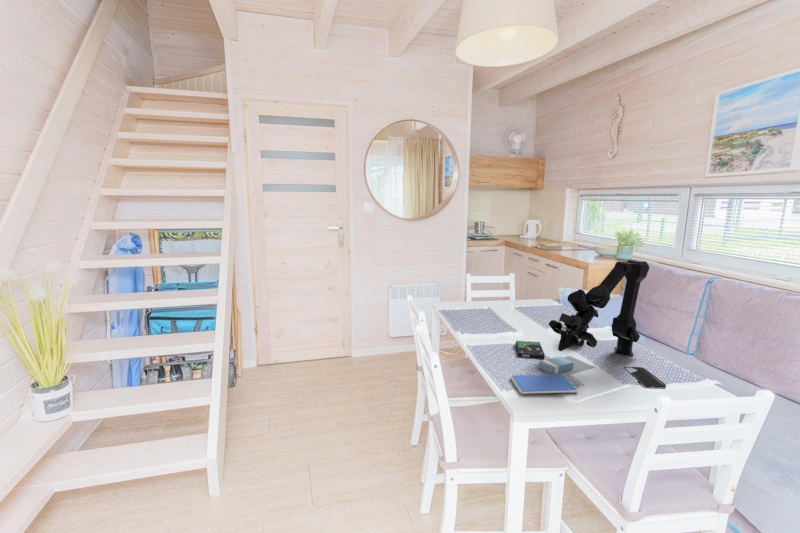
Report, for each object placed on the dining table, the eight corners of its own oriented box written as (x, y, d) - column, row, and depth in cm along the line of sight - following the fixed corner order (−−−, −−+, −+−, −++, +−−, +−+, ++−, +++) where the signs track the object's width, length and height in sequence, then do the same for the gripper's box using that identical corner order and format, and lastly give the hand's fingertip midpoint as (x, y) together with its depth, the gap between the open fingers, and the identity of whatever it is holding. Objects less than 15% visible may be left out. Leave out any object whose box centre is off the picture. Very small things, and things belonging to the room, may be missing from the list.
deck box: (560, 356, 154) (539, 361, 149) (573, 362, 148) (552, 367, 143) (559, 362, 154) (538, 367, 149) (572, 368, 149) (551, 374, 144)
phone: (642, 367, 150) (667, 385, 136) (642, 369, 151) (667, 388, 136) (622, 366, 151) (644, 385, 136) (621, 369, 151) (643, 388, 136)
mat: (569, 357, 161) (569, 355, 161) (595, 368, 150) (595, 367, 150) (533, 366, 152) (533, 364, 152) (557, 379, 141) (557, 377, 141)
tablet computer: (562, 376, 142) (563, 373, 142) (579, 393, 130) (579, 390, 129) (509, 378, 142) (509, 375, 141) (521, 396, 129) (521, 392, 129)
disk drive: (544, 361, 158) (539, 347, 172) (545, 355, 157) (539, 341, 171) (518, 359, 160) (514, 345, 174) (518, 353, 159) (515, 339, 173)
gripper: (553, 300, 156) (530, 330, 153) (594, 312, 139) (570, 347, 137) (566, 316, 161) (544, 346, 158) (607, 330, 144) (583, 364, 141)
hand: (559, 350), depth 148 cm, fingers closed
